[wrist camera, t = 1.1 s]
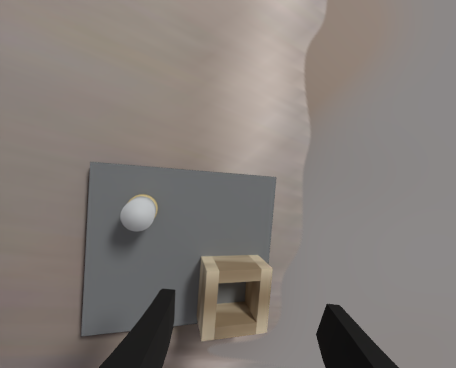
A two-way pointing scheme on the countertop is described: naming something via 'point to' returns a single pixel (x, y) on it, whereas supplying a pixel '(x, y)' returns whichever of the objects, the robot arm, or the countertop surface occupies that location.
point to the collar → (237, 311)
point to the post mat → (166, 238)
